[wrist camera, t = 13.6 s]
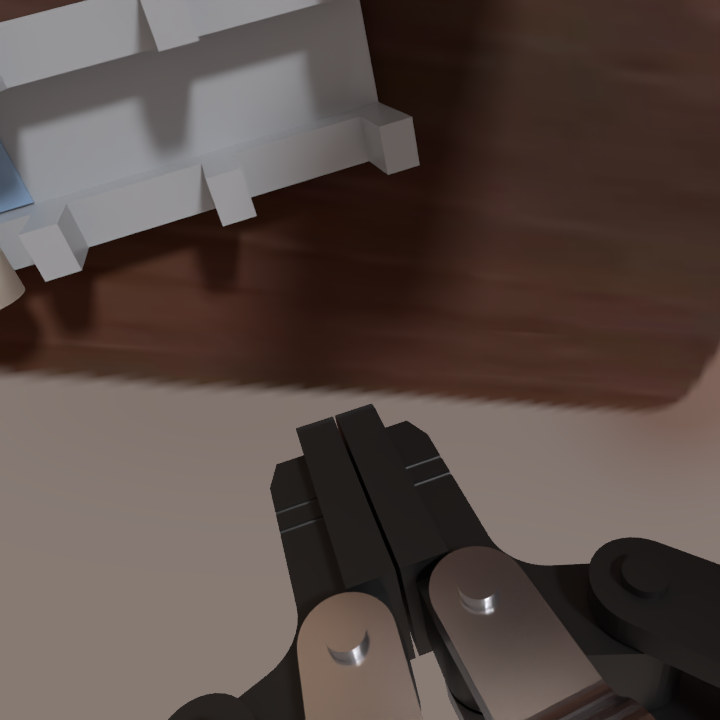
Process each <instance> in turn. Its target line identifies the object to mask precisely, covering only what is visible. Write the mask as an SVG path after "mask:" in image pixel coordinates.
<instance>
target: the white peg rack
mask: <svg viewBox="0 0 720 720" xmlns="http://www.w3.org/2000/svg"><path fill="white" fill-rule="evenodd" d="M368 161H370V162H371V163H373V164H374V165H375V166H377V167H378V168H379V169H381V170H382V171H383V172H385V173H386V174H387V175H390V174H393V173H396V172H399V171H402V170H406V169H409V168H412V167H415V166H418V165H420V164H419V158H418V151H417V145H416V138H415V132H414V126H413V119H412V117H411V116H409V115H407V114H405V113H402V112H400V111H398V110H396V109H393V108H391V107H389V106H386V105H384V104H382V103H380V102H378V97H377V92H376V87H375V81H374V76H373V70H372V65H371V59H370V54H369V49H368V43H367V38H366V32H365V27H364V22H363V16H362V11H361V5H360V0H87V1H83V2H79V3H75V4H71V5H67V6H63V7H59V8H55V9H51V10H48V11H44V12H40V13H36V14H32V15H28V16H24V17H20V18H16V19H13V20H9V21H5V22H1V23H0V248H1V249H2V251H3V253H4V254H5V256H6V258H7V259H8V261H9V262H10V264H11V266H12V267H13V269H14V270H17V269H20V268H24V267H27V266H30V265H33V264H35V265H36V266H37V268H38V270H39V272H40V273H41V275H42V277H43V278H44V280H45V282H47V281H50V280H53V279H56V278H59V277H63V276H66V275H69V274H72V273H76V272H79V271H82V269H83V265H84V262H85V259H86V255H87V252H88V249H89V247H92V246H95V245H98V244H102V243H105V242H108V241H111V240H115V239H118V238H121V237H124V236H128V235H131V234H134V233H137V232H141V231H144V230H147V229H150V228H154V227H157V226H160V225H163V224H167V223H170V222H173V221H176V220H180V219H183V218H186V217H189V216H193V215H196V214H199V213H202V212H206V211H209V210H212V209H215V208H216V209H217V212H218V214H219V217H220V220H221V223H222V225H223V226H226V225H229V224H233V223H236V222H239V221H242V220H245V219H249V218H252V217H255V216H257V215H256V212H255V209H254V206H253V203H252V200H251V197H254V196H257V195H261V194H264V193H267V192H270V191H274V190H277V189H280V188H283V187H287V186H290V185H293V184H296V183H300V182H303V181H306V180H309V179H313V178H316V177H319V176H322V175H326V174H329V173H332V172H335V171H339V170H342V169H345V168H348V167H352V166H355V165H358V164H361V163H365V162H368Z"/></svg>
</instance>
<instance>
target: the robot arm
mask: <svg viewBox="0 0 720 720" xmlns="http://www.w3.org/2000/svg"><path fill="white" fill-rule="evenodd" d="M335 418H336V422H337V426H338V428H337V426H336V423H335V421H334V419H333V417H330V418H327V419H324V420H321V421H318V422H315V423H312V424H309V425H305V426H303V427H300V428H296V430H297V434H298V437H299V440H300V443H301V446H302V450H303V453H304V455H303V456H301V457H298V458H295V459H292V460H289V461H286V462H283V463H280V464H277V465H276V469H275V472H274V476H273V480H272V483H271V487H270V490H271V494H272V499H273V503H274V507H275V512H276V515H277V516H276V517H277V521H278V525H279V530H280V533H281V539H282V543H283V548H284V552H285V557H286V561H287V566H288V570H289V575H290V579H291V584H292V588H293V593H294V597H295V602H296V606H297V613H298V625H297V630H296V634H295V637H294V640H293V643H292V645H291V647H290V649H289V651H288V652H287V654H286V656H285V657H284V658H283V660H282V661H281V662H280V663H279V664H278V665H277V667H276V668H275V669H274V670H273V671H271V672H270V673H269V674H268V675H267V676H265V677H264V678H263V679H262V680H261V681H259V682H258V683H257V684H255V685H254V686H253V687H251V688H250V689H249V690H248V691H246V692H245V693H244V694H243V695H242V696H240V697H239V698H236V697H234V696H232V695H227V694H221V693H220V694H219V693H214V694H208V695H204V696H201V697H198V698H196V699H194V700H192V701H190V702H188V703H187V704H185V705H184V706H182V707H181V708H180V709H178V710H177V711H176V712H175V713H174V714H173V715H172V716H171V717H170V718H169V719H168V720H423V717H422V714H421V706H420V700H419V696H418V692H417V687H416V683H415V679H414V675H413V671H412V667H411V663H410V660H411V659H414V658H415V653H414V649H413V644H412V640H411V636H410V632H411V635H412V638H413V641H414V643H415V646H416V648H417V651H418V653H419V656H420V655H423V654H426V653H428V652H431V651H433V652H434V654H435V656H436V659H437V661H438V664H439V666H440V668H441V671H442V673H443V676H444V678H445V683H446V688H447V692H448V697H449V700H450V702H451V704H452V706H453V708H454V710H455V712H456V714H457V716H458V718H459V720H720V565H719V564H716V563H714V562H711V561H708V560H705V559H703V558H700V557H697V556H694V555H692V554H689V553H686V552H683V551H681V550H678V549H675V548H672V547H669V546H667V545H664V544H661V543H658V542H655V541H652V540H649V539H643V538H621V539H617V540H613V541H611V542H608V543H606V544H605V545H603V546H602V547H601V548H599V549H598V550H597V551H596V553H595V554H594V556H593V557H592V559H591V562H590V564H575V565H574V564H573V565H553V566H544V565H535V564H530V563H526V562H522V561H520V560H517V559H515V558H513V557H511V556H509V555H508V554H506V553H505V552H503V551H502V550H501V549H499V548H498V547H497V546H496V545H495V544H494V543H493V541H492V540H491V539H490V537H489V536H488V534H487V532H486V531H485V529H484V527H483V526H482V524H481V522H480V521H479V519H478V517H477V516H476V514H475V512H474V511H473V509H472V508H471V506H470V504H469V503H468V501H467V499H466V497H465V496H464V494H463V493H462V491H461V489H460V488H459V486H458V484H457V483H456V481H455V479H454V478H453V476H452V475H451V474H450V472H449V469H448V468H447V466H446V464H445V463H444V461H443V459H442V458H440V455H439V453H438V451H437V449H436V448H435V446H434V444H433V443H432V441H431V439H430V438H429V436H428V435H427V434H426V433H425V432H423V431H422V430H420V429H419V428H417V427H416V426H414V425H412V424H411V423H410V422H408V421H404V422H401V423H399V424H396V425H393V426H389V427H386V428H385V427H384V425H383V423H382V421H381V419H380V417H379V415H378V413H377V411H376V409H375V408H374V406H373V405H372V404H369V405H366V406H363V407H360V408H357V409H354V410H351V411H348V412H345V413H342V414H338V415H336V416H335Z"/></svg>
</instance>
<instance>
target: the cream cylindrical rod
mask: <svg viewBox="0 0 720 720" xmlns="http://www.w3.org/2000/svg"><path fill="white" fill-rule="evenodd" d="M24 292H25V287H24V286H23V284H22V282H21V281H20V279H19V277H18V276H17V274H16V272H15V271H14V269H13V267H12V266H11V264H10V262H9V261H8V259H7V258H6V256H5V254H4V253H3V251H2V249H1V248H0V309H2V308H4V307H6V306H8V305H10V304H11V303H13V302H14V301H16V300H17V299H18V298H19V297H21V296H22V295H23V293H24Z"/></svg>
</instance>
